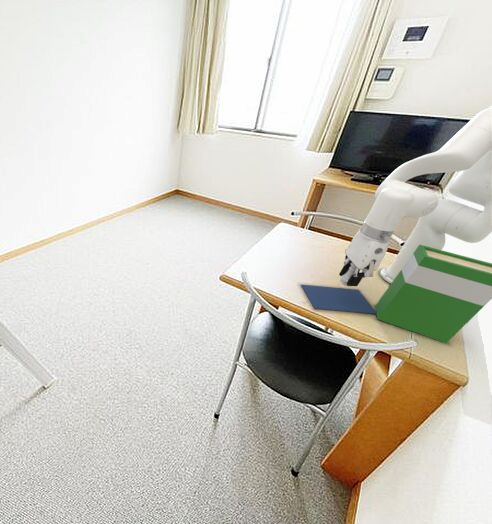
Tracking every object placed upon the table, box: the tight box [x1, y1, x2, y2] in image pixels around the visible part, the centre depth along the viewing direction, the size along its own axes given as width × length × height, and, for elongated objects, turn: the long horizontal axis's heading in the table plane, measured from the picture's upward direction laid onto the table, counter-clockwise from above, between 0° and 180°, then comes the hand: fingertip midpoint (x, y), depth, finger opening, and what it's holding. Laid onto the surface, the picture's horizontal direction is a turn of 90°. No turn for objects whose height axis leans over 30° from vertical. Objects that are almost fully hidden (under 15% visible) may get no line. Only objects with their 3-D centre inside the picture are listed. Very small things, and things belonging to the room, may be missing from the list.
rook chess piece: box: [338, 262, 356, 288], centre depth 96 cm, size 4×4×8 cm
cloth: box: [300, 284, 377, 315], centre depth 102 cm, size 20×12×1 cm, turn 86°
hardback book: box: [374, 245, 492, 344], centre depth 87 cm, size 18×7×24 cm, turn 61°
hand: (347, 280), depth 98 cm, fingers closed on rook chess piece, 4 cm apart
